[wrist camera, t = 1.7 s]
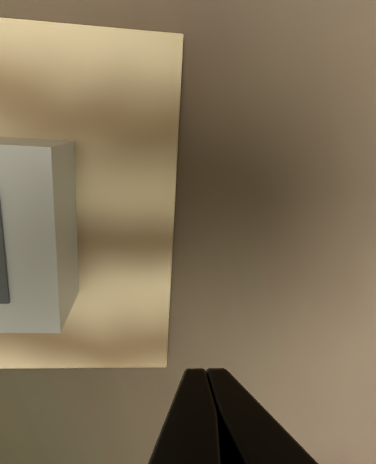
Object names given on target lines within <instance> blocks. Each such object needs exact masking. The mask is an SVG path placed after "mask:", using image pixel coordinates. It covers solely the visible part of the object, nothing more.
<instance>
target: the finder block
mask: <svg viewBox="0 0 376 464" xmlns="http://www.w3.org/2000/svg"><path fill="white" fill-rule="evenodd" d="M78 292H79V276H78V246H77V216H76V186H75V156H74V141H65V140H47V139H29V138H12V137H0V333H61V331H62V329H63V327H64V324H65V322H66V320H67V317H68V315H69V313H70V311H71V308H72V306H73V304H74V302H75V299H76V297H77V295H78Z"/></svg>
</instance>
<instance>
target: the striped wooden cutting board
mask: <svg viewBox="0 0 376 464" xmlns="http://www.w3.org/2000/svg"><path fill="white" fill-rule="evenodd" d="M182 52H183V34H179V33H167V32H156V31H145V30H134V29H123V28H111V27H100V26H89V25H78V24H67V23H55V22H44V21H33V20H22V19H11V18H0V137H12V138H29V139H47V140H65V141H74V156H75V186H76V216H77V246H78V276H79V292H78V295H77V297H76V299H75V302H74V304H73V306H72V308H71V311H70V313H69V315H68V317H67V320H66V322H65V324H64V327H63V329H62V331H61V333H0V368H131V367H166V366H167V346H168V326H169V307H170V287H171V268H172V248H173V229H174V209H175V189H176V170H177V150H178V131H179V111H180V92H181V72H182Z"/></svg>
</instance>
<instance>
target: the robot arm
mask: <svg viewBox="0 0 376 464" xmlns="http://www.w3.org/2000/svg"><path fill="white" fill-rule="evenodd" d="M148 464H318V463H317V462H316V461H315V460H314V459H313V458H312V457H311V456H310V455H309V454H308V453H307V452H306V451H305V450H304V449H303V448H302V447H301V446H300V445H299V444H298V442H297V441H296V440H295V439H294V438H293V437H292V436H291V435H290V434H289V433H288V432H287V431H286V430H285V429H284V428H283V427H282V426H281V425H280V424H279V423H278V422H277V421H276V420H275V419H274V418H273V417H272V416H271V415H270V414H269V413H268V412H267V411H266V410H265V409H264V408H263V407H262V406H261V405H260V403H259V402H258V401H257V400H256V399H255V398H254V397H253V396H252V395H251V394H250V393H249V392H248V391H247V390H246V389H245V388H244V387H243V386H242V385H241V384H240V383H239V382H238V381H237V380H236V379H235V378H234V377H233V376H232V375H231V374H230V373H229V372H228V371H227V370H226V369H224V368H209V369H207V370H206V371H205V370H204V369H202V368H196V369H186V370H185V371H184V374H183V376H182V379H181V381H180V384H179V386H178V389H177V391H176V394H175V397H174V399H173V402H172V404H171V407H170V409H169V412H168V414H167V417H166V419H165V422H164V425H163V427H162V430H161V432H160V435H159V437H158V440H157V442H156V445H155V447H154V450H153V453H152V455H151V458H150V460H149V463H148Z"/></svg>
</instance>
